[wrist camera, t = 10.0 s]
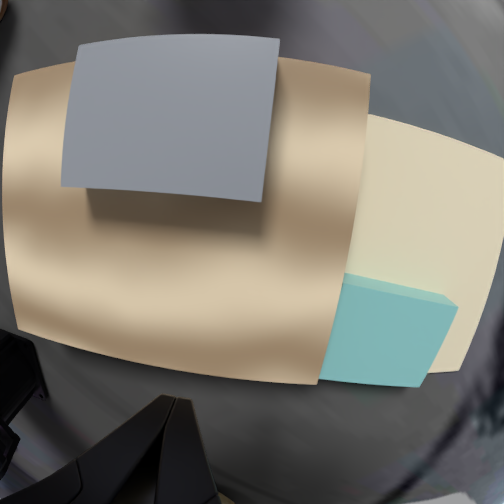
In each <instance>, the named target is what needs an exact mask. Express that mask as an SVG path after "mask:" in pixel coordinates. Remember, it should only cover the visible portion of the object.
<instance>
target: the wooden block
mask: <svg viewBox="0 0 504 504" xmlns="http://www.w3.org/2000/svg"><path fill="white" fill-rule="evenodd" d="M75 62H76V61H75ZM75 62H69V63H64V64H59V65H54V66H50V67H45V68H41V69H37V70H33V71H29V72H25V73H21V74H18V75H14V79H13V84H12V89H11V95H10V101H9V107H8V114H7V122H6V131H5V142H4V155H3V178H2V205H3V229H4V242H5V253H6V262H7V270H8V277H9V284H10V290H11V296H12V301H13V307H14V312H15V316H16V321H17V326H18V329H19V330H22V331H25V332H28V333H31V334H34V335H37V336H40V337H43V338H46V339H49V340H53V341H56V342H59V343H62V344H66V345H69V346H73V347H76V348H80V349H84V350H87V351H91V352H95V353H99V354H103V355H107V356H111V357H115V358H119V359H124V360H128V361H133V362H138V363H142V364H147V365H152V366H157V367H163V368H168V369H174V370H180V371H186V372H192V373H198V374H205V375H212V376H220V377H227V378H236V379H245V380H255V381H266V382H278V383H292V384H311V385H317V382H318V379H319V375H320V372H321V368H322V364H323V361H324V357H325V353H326V350H327V346H328V342H329V338H330V334H331V330H332V326H333V322H334V318H335V314H336V309H337V305H338V301H339V296H340V292H341V287H342V283H343V278H344V273H345V268H346V263H347V258H348V253H349V248H350V242H351V237H352V231H353V225H354V219H355V213H356V207H357V201H358V194H359V187H360V180H361V172H362V165H363V157H364V148H365V139H366V129H367V118H368V106H369V93H370V76H371V74H367V73H363V72H359V71H355V70H350V69H346V68H341V67H336V66H331V65H326V64H321V63H315V62H310V61H303V60H297V59H290V58H282V57H278V62H277V71H276V80H275V89H274V97H273V106H272V115H271V123H270V132H269V141H268V149H267V158H266V166H265V175H264V183H263V192H262V200H261V202H253V201H244V200H235V199H226V198H216V197H206V196H195V195H184V194H172V193H159V192H146V191H132V190H116V189H98V188H76V187H61V166H62V152H63V140H64V130H65V121H66V114H67V106H68V100H69V93H70V88H71V82H72V77H73V71H74V67H75Z"/></svg>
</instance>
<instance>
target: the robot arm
mask: <svg viewBox="0 0 504 504" xmlns="http://www.w3.org/2000/svg"><path fill="white" fill-rule="evenodd" d="M32 396H34V397H36V398H39V399H41V400H46V399H47V397H48V395H47V392H46V389H45V386H44V383H43V380H42V377H41V374H40V370H39V367H38V363H37V360H36V356H35V352H34V348H33V345H32V343H31V341H30V340H28V339H26V338H23V337H20V336H18V335H15V334H12V333H10V332H7V331H5V330H2V329H0V480H1V479H2V478H3V476H4V475H5V473H6V471H7V469H8V466H9V464H10V462H11V459H12V457H13V455H14V452H15V450H16V448H17V446H18V443H19V441H20V437H19V436H18V435H17V434H16V433H14V432H13V431H12V429H11V428H10V427H9V426H8V425H9V423H10V422H11V421H12V420H13V418H14V417H15V416H16V415H17V414H18V412H19V411H20V410H21V409H22V407H23V406H24V405H25V404H26V403H27V401H28V400H29V399H30V398H31V397H32ZM0 504H222V503H221V499H220V496H218V491H217V488H216V484H215V481H214V478H213V475H212V471H211V468H210V465H209V461H208V458H207V454H206V451H205V447H204V443H203V440H202V436H201V432H200V428H199V425H198V421H197V417H196V413H195V409H194V405H193V401H192V399H190V398H184V397H177V398H176V397H175V396H173V395H168V394H160V395H159V396H157V397H156V398H155V399H154V400H152V401H151V402H150V403H149V404H147V405H146V406H145V407H144V408H142V409H141V410H140V411H138V412H137V413H136V414H135V415H133V416H132V417H131V418H129V419H128V420H127V421H125V422H124V423H123V424H122V425H120V426H119V427H118V428H116V429H115V430H114V431H112V432H111V433H110V434H108V435H107V436H106V437H104V438H103V439H102V440H100V441H99V442H98V443H96V444H95V445H94V446H92V447H91V448H89V449H88V450H87V451H85V452H84V453H83V454H81V455H80V456H78V457H77V458H76V460H75V459H74V460H73V461H71V462H70V463H68V464H67V465H66V466H64V467H63V468H61V469H59V470H58V471H56V472H55V473H53V474H52V475H50V476H48V477H46V478H45V479H43V480H41V481H39V482H37V483H35V484H33V485H31V486H29V487H27V488H25V489H23V490H21V491H18V492H16V493H14V494H12V495H10V496H7V497H5V498H3V499H1V500H0Z"/></svg>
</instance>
